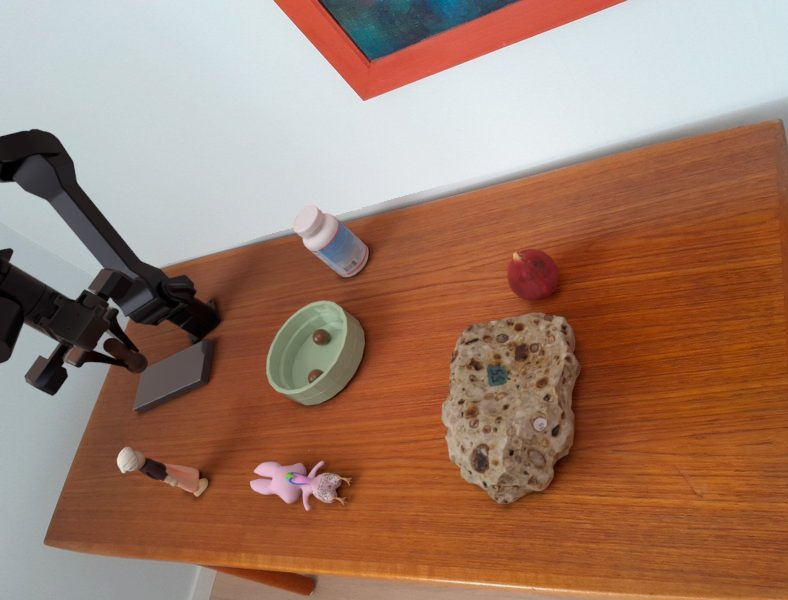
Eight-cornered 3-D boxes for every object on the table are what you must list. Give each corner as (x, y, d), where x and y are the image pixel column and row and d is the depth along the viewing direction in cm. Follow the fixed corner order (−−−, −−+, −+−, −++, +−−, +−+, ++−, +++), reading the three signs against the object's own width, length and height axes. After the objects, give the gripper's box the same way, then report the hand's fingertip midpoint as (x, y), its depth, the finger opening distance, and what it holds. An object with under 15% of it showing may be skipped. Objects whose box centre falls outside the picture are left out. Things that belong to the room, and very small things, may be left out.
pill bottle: (373, 240, 101) (325, 195, 93) (367, 273, 98) (317, 229, 90) (342, 250, 104) (293, 207, 96) (335, 282, 101) (284, 241, 93)
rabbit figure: (362, 470, 82) (268, 457, 89) (338, 455, 78) (240, 442, 84) (348, 520, 80) (252, 503, 86) (322, 508, 75) (222, 491, 81)
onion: (576, 275, 78) (549, 236, 72) (555, 317, 76) (525, 281, 70) (536, 267, 81) (507, 229, 76) (515, 307, 80) (484, 272, 74)
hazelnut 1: (312, 336, 95) (308, 329, 93) (328, 331, 96) (325, 323, 93) (316, 350, 94) (312, 343, 92) (332, 345, 95) (329, 338, 92)
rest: (149, 373, 117) (141, 369, 116) (214, 342, 111) (207, 338, 110) (140, 413, 112) (132, 410, 111) (207, 383, 106) (200, 379, 105)
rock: (470, 352, 82) (446, 302, 74) (589, 345, 77) (577, 290, 70) (448, 513, 70) (417, 472, 62) (587, 515, 65) (573, 472, 58)
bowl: (279, 359, 99) (257, 345, 96) (349, 298, 97) (329, 282, 94) (302, 426, 90) (279, 414, 87) (380, 361, 88) (359, 345, 85)
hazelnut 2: (305, 372, 91) (304, 374, 89) (321, 365, 91) (321, 367, 89) (312, 388, 91) (312, 391, 89) (328, 380, 92) (328, 383, 89)
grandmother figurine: (217, 474, 94) (141, 444, 85) (205, 501, 93) (127, 473, 84) (186, 467, 99) (111, 437, 90) (174, 492, 98) (97, 465, 88)
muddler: (122, 359, 103) (95, 340, 91) (142, 350, 104) (118, 330, 92) (131, 377, 103) (104, 360, 91) (151, 368, 103) (127, 350, 91)
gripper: (2, 374, 78) (117, 428, 89) (96, 246, 84) (194, 312, 94) (-22, 358, 85) (86, 410, 96) (65, 241, 91) (159, 303, 102)
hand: (132, 359), depth 97 cm, fingers closed on muddler, 2 cm apart
